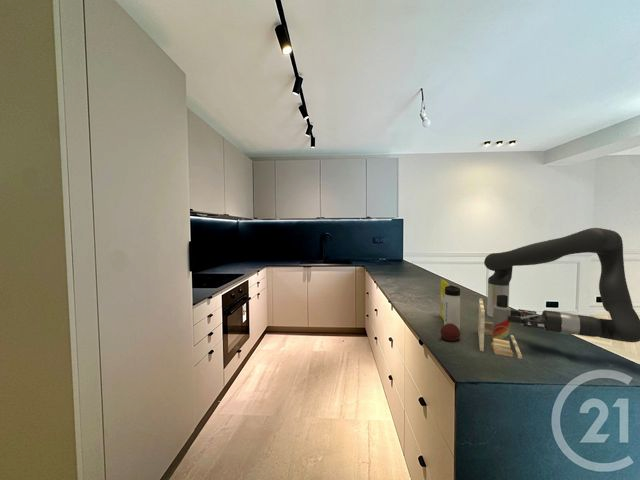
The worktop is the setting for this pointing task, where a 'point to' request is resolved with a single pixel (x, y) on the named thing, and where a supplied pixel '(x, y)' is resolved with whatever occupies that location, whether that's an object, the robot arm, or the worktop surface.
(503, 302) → the lotion bottle
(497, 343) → the offcut
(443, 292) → the food package
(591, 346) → the worktop surface
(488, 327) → the rack
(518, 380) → the worktop surface
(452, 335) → the potato
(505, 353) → the offcut
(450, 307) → the travel mug
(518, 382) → the worktop surface
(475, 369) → the worktop surface
